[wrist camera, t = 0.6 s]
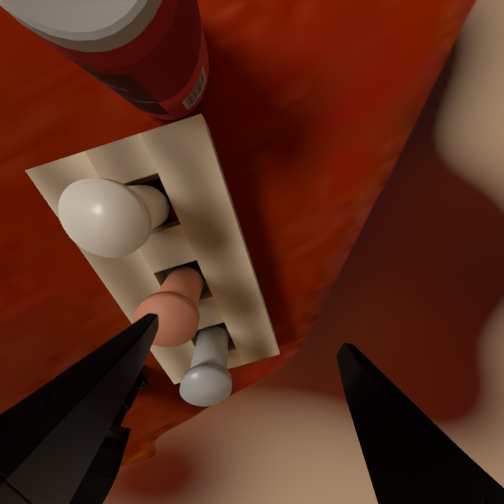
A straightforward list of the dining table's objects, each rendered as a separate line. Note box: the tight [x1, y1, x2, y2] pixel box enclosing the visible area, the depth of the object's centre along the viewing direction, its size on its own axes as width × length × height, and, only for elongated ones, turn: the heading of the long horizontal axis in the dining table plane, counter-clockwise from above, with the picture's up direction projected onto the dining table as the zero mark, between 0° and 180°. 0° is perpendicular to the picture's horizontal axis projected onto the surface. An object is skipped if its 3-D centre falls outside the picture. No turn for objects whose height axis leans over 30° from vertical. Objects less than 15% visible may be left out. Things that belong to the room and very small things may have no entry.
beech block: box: [25, 114, 280, 384], centre depth 21 cm, size 14×26×4 cm, turn 16°
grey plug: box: [179, 326, 232, 406], centre depth 19 cm, size 5×5×6 cm
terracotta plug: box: [133, 267, 203, 347], centre depth 17 cm, size 5×5×6 cm
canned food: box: [0, 0, 209, 120], centre depth 11 cm, size 8×8×11 cm
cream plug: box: [58, 178, 169, 258], centre depth 14 cm, size 5×5×6 cm
